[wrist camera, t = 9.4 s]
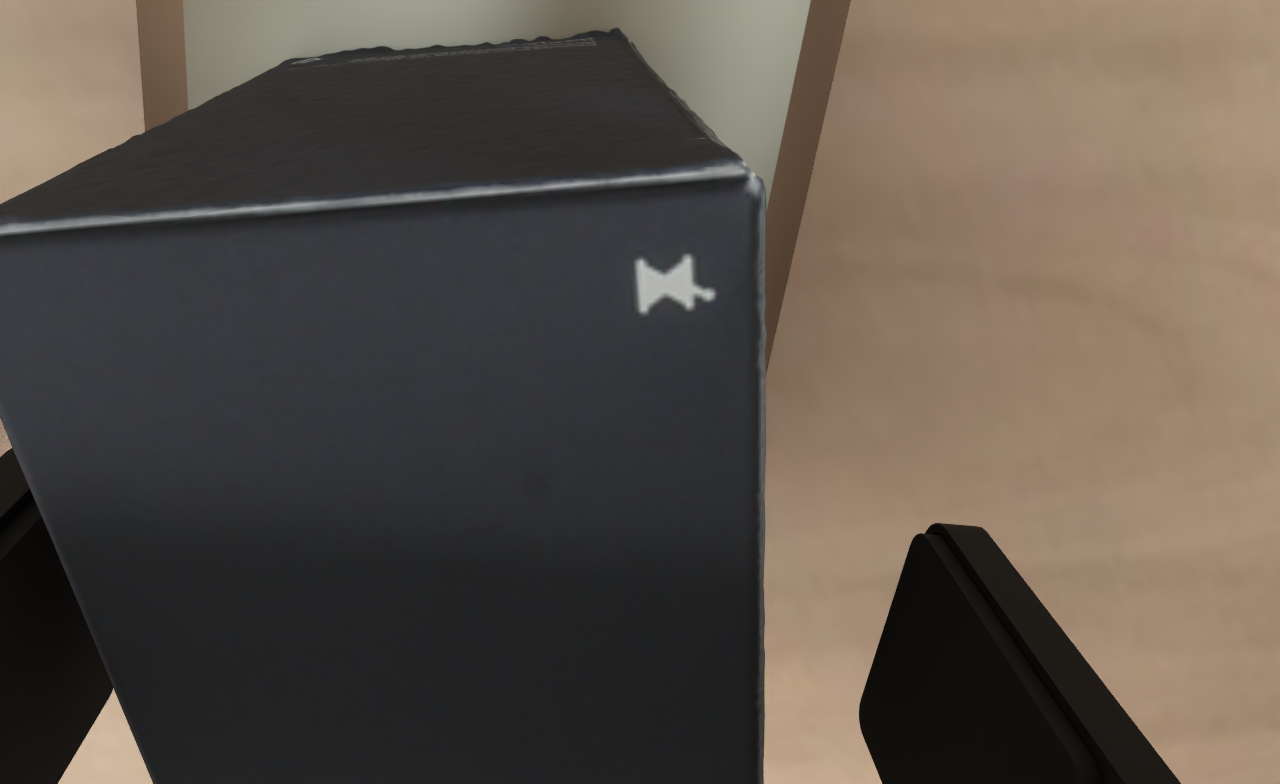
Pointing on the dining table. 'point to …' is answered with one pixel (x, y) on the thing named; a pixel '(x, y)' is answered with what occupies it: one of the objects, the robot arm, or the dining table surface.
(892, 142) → the dining table surface
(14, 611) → the robot arm
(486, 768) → the small box
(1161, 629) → the dining table surface
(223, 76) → the base
